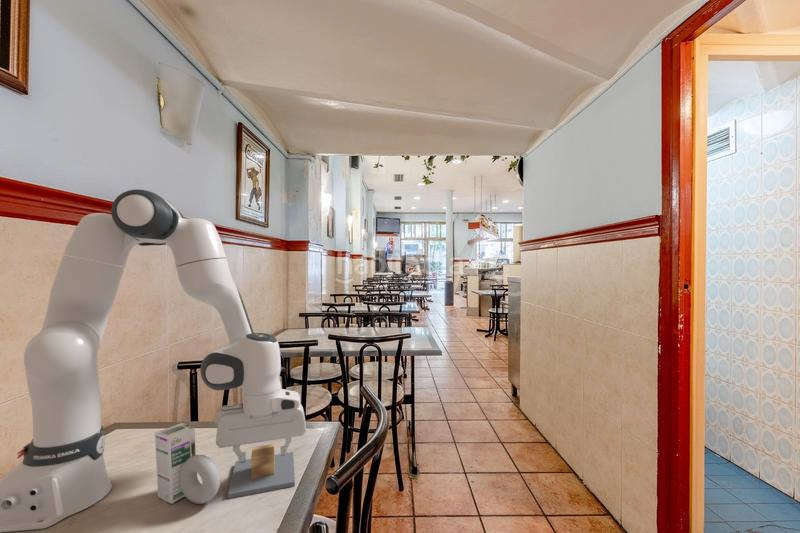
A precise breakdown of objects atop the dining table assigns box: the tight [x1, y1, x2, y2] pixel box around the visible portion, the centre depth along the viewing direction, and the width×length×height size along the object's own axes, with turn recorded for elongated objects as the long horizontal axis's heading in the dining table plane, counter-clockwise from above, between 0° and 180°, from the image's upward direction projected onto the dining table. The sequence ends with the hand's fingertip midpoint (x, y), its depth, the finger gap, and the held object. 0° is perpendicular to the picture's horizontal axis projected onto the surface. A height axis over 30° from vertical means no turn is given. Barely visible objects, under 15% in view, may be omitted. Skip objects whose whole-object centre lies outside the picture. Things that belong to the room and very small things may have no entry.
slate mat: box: [227, 451, 296, 499], centre depth 89 cm, size 14×14×1 cm
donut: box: [179, 454, 221, 505], centre depth 79 cm, size 10×4×10 cm, turn 70°
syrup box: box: [154, 422, 197, 505], centre depth 82 cm, size 6×6×14 cm
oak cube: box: [250, 443, 276, 478], centre depth 89 cm, size 5×5×5 cm
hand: (263, 458), depth 89 cm, fingers open, 8 cm apart
